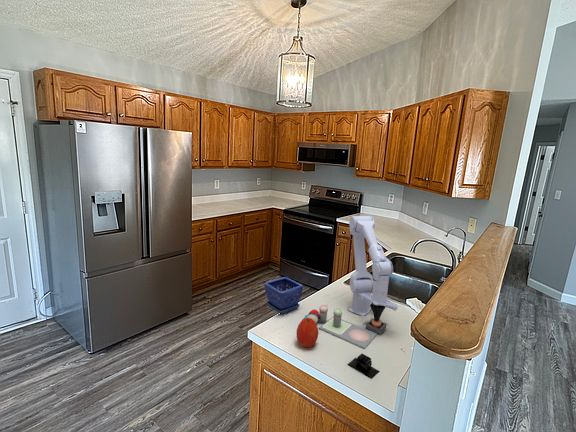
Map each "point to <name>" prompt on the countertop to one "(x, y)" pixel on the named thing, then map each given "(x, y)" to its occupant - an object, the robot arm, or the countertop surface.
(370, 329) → the button housing
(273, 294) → the flower pot
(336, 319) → the sage marker
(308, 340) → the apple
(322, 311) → the rose marker
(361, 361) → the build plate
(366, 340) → the picture board
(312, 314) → the toy figure
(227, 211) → the countertop surface
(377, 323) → the button
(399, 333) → the countertop surface
